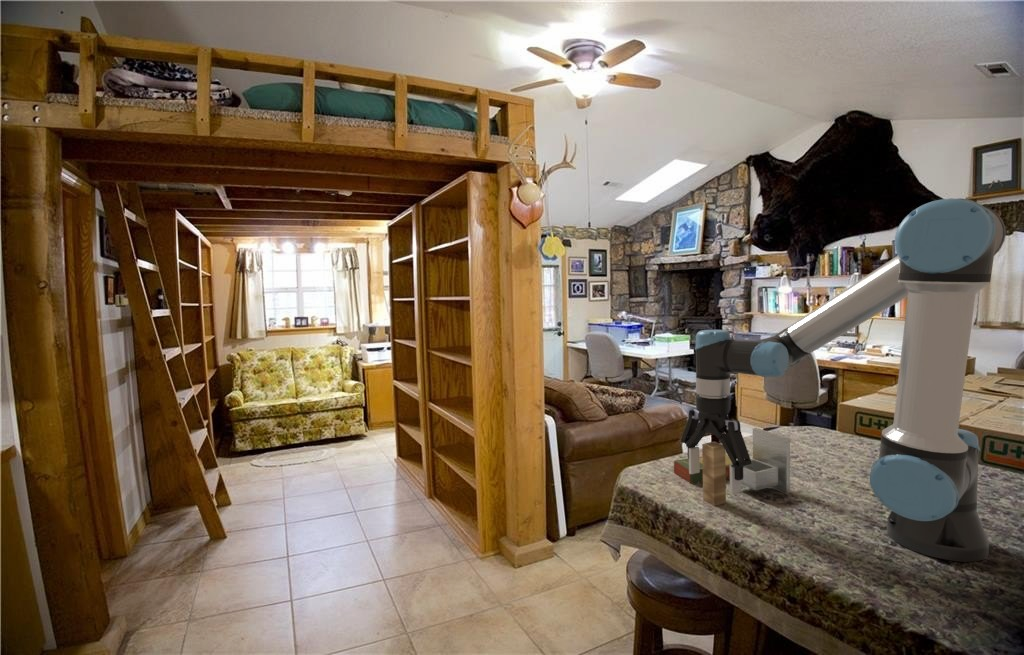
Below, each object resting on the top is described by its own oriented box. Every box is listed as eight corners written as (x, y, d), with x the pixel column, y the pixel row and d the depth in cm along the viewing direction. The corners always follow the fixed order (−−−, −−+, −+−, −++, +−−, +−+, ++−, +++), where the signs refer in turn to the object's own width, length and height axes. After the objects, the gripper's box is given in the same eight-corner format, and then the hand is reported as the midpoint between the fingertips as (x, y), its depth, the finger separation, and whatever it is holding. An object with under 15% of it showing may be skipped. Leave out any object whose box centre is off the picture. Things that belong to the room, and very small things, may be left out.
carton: (743, 477, 132) (743, 462, 132) (690, 485, 129) (689, 469, 129) (724, 466, 140) (723, 452, 140) (673, 474, 137) (673, 459, 137)
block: (725, 502, 117) (725, 445, 116) (714, 505, 116) (713, 448, 115) (714, 497, 120) (713, 441, 119) (703, 499, 119) (702, 443, 118)
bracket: (790, 493, 120) (790, 437, 119) (760, 501, 117) (759, 444, 116) (756, 479, 130) (756, 427, 129) (727, 486, 126) (727, 433, 125)
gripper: (769, 403, 106) (769, 498, 108) (689, 384, 129) (690, 463, 131) (742, 407, 103) (743, 505, 105) (665, 387, 126) (667, 468, 128)
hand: (713, 482), depth 118 cm, fingers open, 12 cm apart
